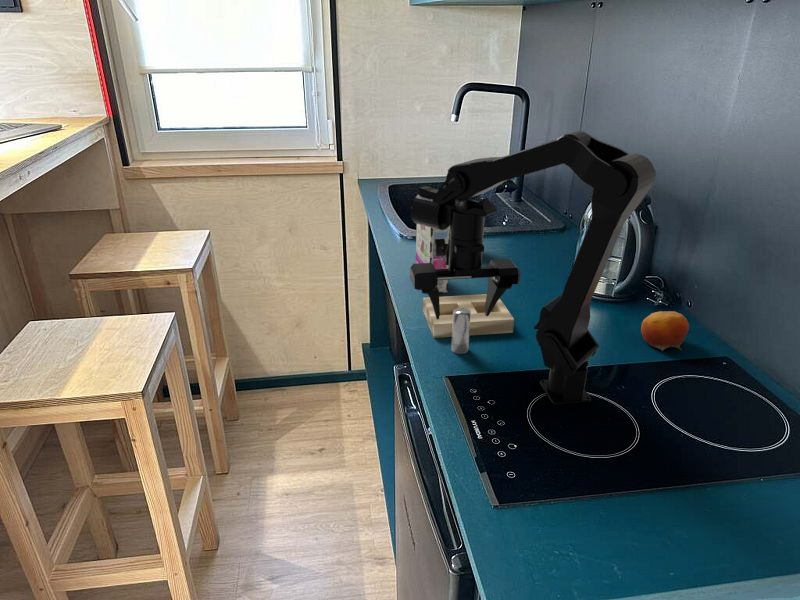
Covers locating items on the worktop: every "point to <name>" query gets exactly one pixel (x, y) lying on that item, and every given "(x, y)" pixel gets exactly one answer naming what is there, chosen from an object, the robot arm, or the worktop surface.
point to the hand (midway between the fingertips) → (462, 316)
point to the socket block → (479, 321)
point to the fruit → (665, 329)
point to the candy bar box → (431, 250)
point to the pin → (460, 330)
